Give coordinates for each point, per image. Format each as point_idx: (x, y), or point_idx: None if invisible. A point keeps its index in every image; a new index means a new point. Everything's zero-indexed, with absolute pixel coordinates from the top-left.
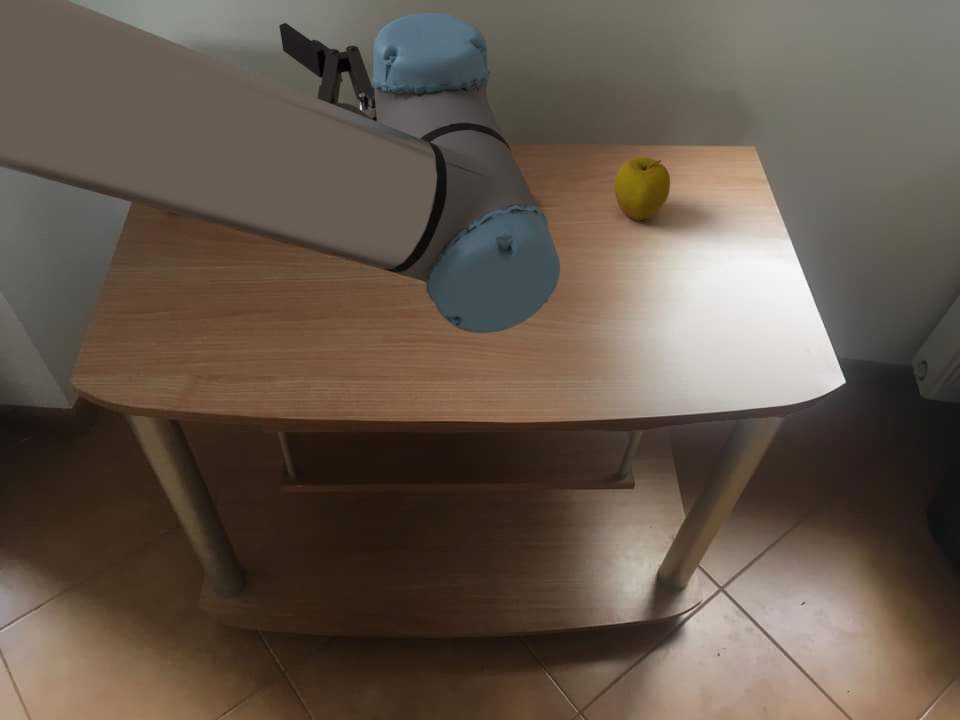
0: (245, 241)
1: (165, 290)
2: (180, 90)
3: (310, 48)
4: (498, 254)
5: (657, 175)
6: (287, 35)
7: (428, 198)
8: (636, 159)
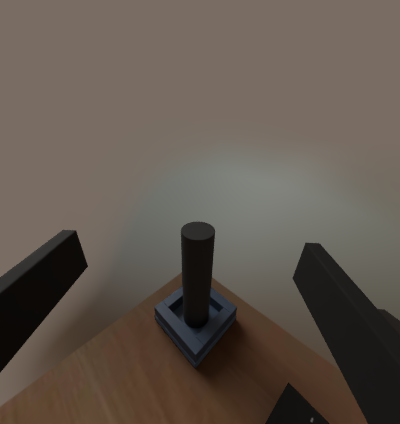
0: (164, 408)
1: (61, 417)
2: None
3: (391, 358)
4: None
5: None
6: (315, 267)
7: None
8: None
